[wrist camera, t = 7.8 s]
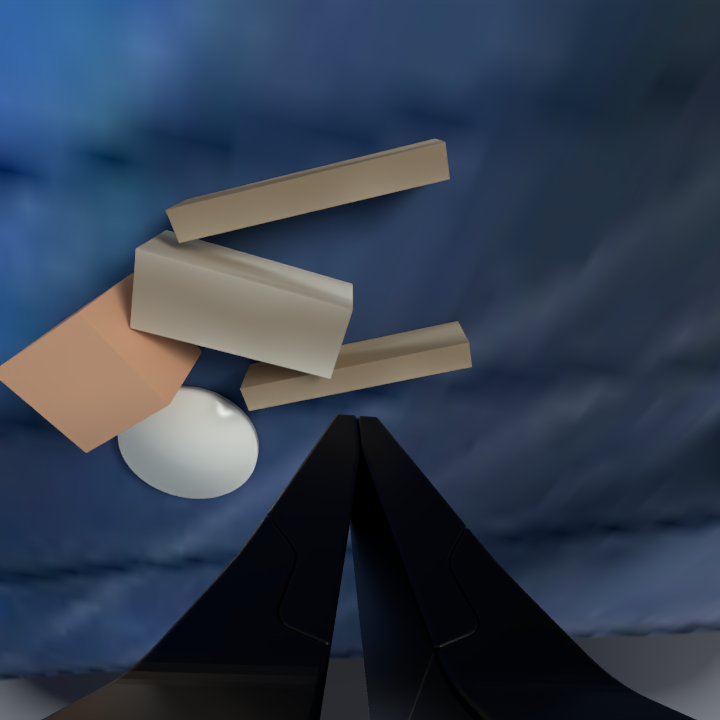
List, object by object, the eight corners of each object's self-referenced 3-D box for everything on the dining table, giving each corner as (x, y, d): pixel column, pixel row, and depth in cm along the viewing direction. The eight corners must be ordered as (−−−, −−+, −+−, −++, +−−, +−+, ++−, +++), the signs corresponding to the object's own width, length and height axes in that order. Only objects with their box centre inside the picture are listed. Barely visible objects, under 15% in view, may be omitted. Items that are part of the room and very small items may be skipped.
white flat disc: (276, 478, 25) (274, 486, 24) (158, 500, 26) (154, 508, 25) (231, 372, 22) (228, 379, 21) (97, 400, 22) (91, 407, 22)
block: (203, 350, 21) (168, 405, 17) (132, 393, 22) (85, 453, 18) (133, 272, 19) (77, 312, 15) (60, 322, 20) (-9, 372, 16)
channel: (460, 343, 21) (471, 366, 19) (258, 385, 22) (249, 411, 20) (434, 138, 17) (445, 141, 15) (185, 199, 18) (165, 210, 16)
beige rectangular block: (333, 344, 21) (330, 378, 19) (160, 298, 20) (130, 327, 17) (352, 282, 20) (352, 309, 17) (168, 228, 19) (135, 248, 16)
